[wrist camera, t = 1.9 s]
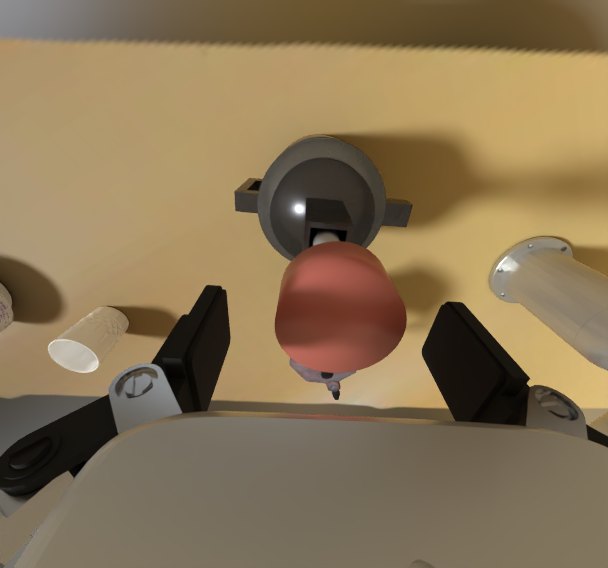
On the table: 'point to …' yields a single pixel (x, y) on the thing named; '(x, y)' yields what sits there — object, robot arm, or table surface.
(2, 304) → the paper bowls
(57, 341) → the white cup
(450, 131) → the table surface
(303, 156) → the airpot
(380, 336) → the red rounded piece
